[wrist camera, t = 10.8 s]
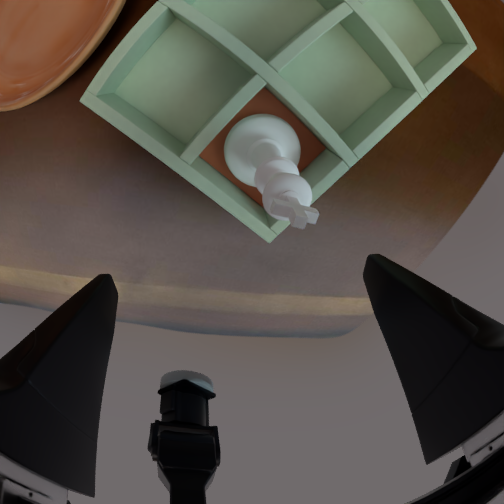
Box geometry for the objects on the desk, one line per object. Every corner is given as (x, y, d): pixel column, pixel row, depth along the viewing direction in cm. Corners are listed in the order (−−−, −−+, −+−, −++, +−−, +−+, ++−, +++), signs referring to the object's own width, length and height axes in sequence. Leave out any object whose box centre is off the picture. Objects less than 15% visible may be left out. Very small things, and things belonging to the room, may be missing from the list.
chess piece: (286, 192, 19) (333, 287, 11) (216, 176, 18) (211, 268, 10) (309, 125, 17) (388, 176, 9) (234, 105, 16) (248, 131, 8)
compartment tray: (262, 218, 21) (269, 243, 18) (102, 96, 15) (78, 101, 12) (447, 46, 14) (477, 48, 11) (320, -88, 7) (336, -107, 4)
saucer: (52, -79, 3) (36, -89, 1) (194, -47, 10) (190, -65, 7) (-40, 74, 9) (-62, 79, 7) (64, 137, 16) (42, 148, 13)
